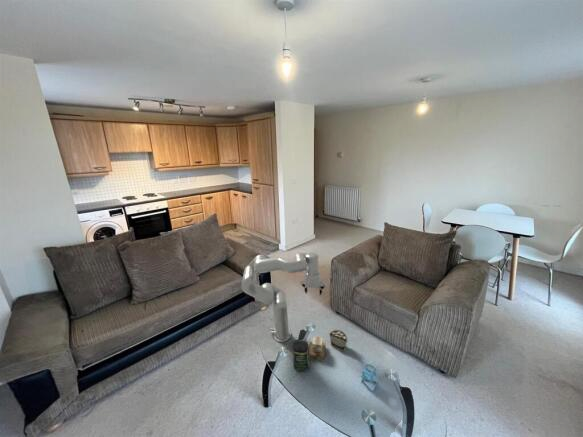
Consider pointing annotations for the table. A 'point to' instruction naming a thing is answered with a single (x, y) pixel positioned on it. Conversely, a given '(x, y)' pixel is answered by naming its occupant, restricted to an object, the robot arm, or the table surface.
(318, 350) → the beech cube
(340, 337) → the food container
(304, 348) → the coffee jar
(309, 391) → the table surface
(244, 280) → the robot arm
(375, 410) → the table surface
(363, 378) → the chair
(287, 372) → the table surface
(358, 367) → the table surface
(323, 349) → the pedestal
